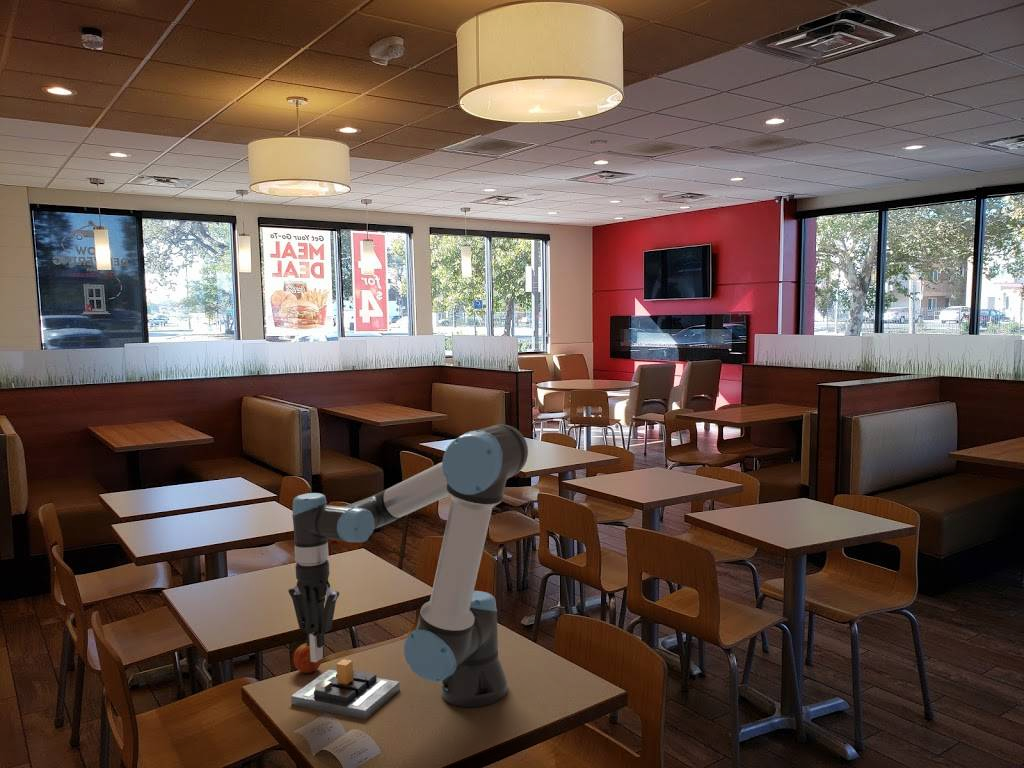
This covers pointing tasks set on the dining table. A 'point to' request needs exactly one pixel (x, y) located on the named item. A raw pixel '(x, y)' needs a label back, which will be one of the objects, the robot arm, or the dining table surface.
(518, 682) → the dining table surface
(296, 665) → the fruit
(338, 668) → the block
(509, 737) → the dining table surface
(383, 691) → the panel
